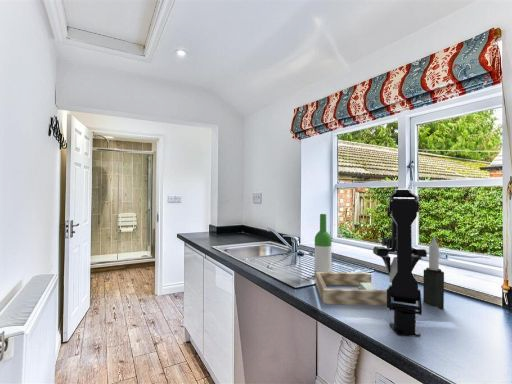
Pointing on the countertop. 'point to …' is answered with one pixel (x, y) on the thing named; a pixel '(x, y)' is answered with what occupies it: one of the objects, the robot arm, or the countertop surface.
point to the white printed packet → (393, 268)
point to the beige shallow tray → (348, 294)
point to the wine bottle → (322, 248)
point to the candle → (433, 279)
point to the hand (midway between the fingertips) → (399, 273)
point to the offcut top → (367, 286)
